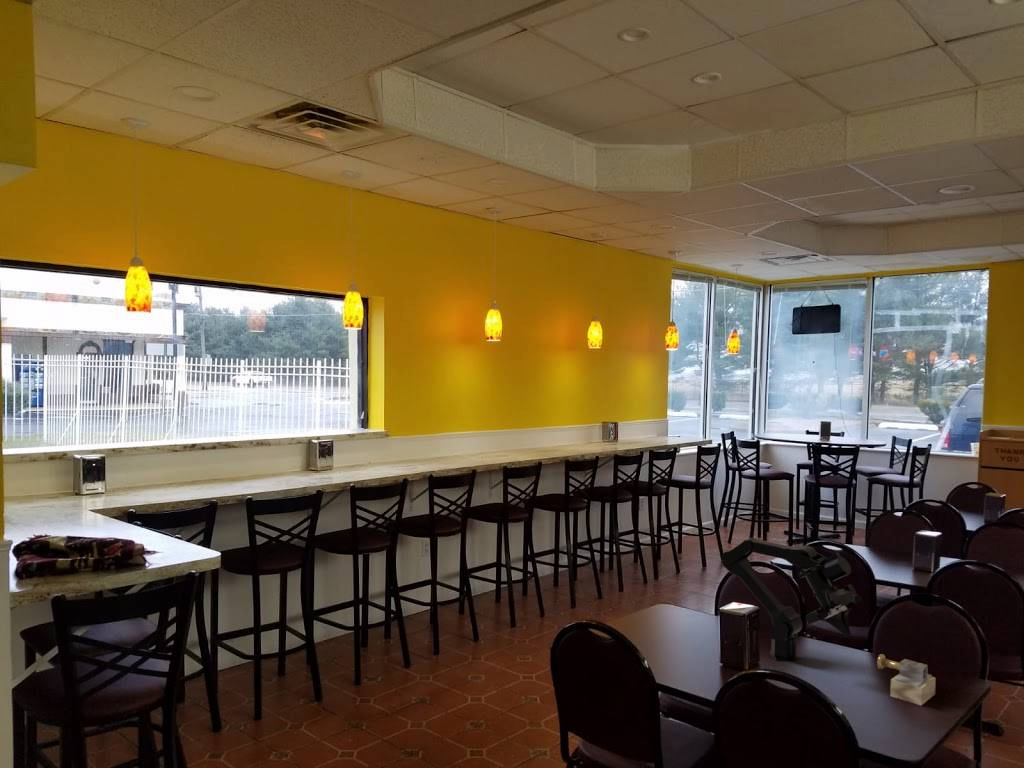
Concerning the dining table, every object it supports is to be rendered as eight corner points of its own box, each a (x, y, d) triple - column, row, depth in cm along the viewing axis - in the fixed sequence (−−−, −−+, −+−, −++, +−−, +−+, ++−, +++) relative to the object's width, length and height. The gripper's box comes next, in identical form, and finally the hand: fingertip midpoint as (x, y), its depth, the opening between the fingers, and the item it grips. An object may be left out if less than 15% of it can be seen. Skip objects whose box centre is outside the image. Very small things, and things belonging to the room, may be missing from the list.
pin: (876, 669, 219) (877, 655, 219) (882, 666, 222) (882, 652, 222) (910, 679, 213) (911, 665, 213) (915, 675, 216) (916, 661, 216)
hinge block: (890, 696, 213) (891, 664, 213) (905, 685, 221) (905, 654, 221) (921, 705, 208) (922, 673, 207) (935, 694, 215) (936, 662, 215)
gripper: (816, 588, 223) (845, 640, 217) (860, 569, 231) (888, 619, 225) (793, 598, 232) (820, 649, 226) (836, 580, 240) (863, 628, 234)
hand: (848, 636), depth 227 cm, fingers closed
